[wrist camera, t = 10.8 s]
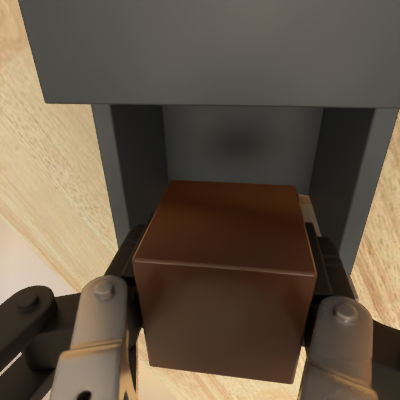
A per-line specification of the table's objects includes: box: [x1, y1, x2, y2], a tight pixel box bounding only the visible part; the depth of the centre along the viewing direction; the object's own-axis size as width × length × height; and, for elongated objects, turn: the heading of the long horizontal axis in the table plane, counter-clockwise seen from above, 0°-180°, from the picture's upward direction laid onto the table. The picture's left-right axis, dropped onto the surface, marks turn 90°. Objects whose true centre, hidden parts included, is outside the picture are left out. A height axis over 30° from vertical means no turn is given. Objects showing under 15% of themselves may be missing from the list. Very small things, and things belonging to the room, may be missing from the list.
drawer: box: [91, 104, 399, 302], centre depth 18 cm, size 18×12×9 cm
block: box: [132, 180, 317, 384], centre depth 11 cm, size 4×4×4 cm
